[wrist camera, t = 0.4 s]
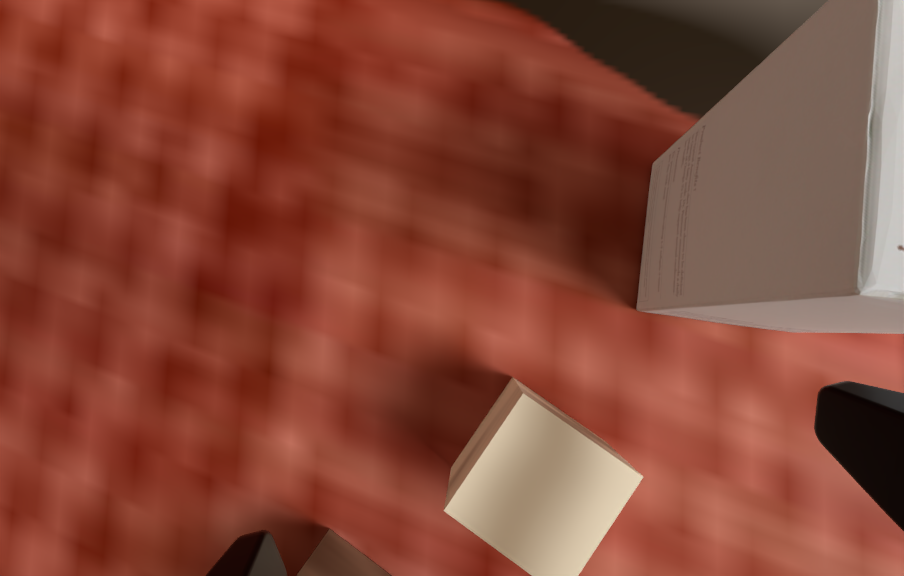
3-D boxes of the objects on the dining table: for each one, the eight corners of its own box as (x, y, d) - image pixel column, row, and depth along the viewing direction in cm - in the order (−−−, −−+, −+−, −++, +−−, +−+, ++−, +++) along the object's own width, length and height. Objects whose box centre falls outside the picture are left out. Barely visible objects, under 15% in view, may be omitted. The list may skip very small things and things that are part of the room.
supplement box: (797, 336, 21) (1282, 357, 8) (630, 311, 21) (851, 297, 9) (813, 176, 21) (1294, -31, 9) (650, 156, 22) (885, -69, 9)
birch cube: (604, 440, 21) (643, 476, 16) (542, 532, 21) (563, 598, 16) (512, 376, 22) (523, 393, 17) (451, 466, 21) (443, 510, 16)
